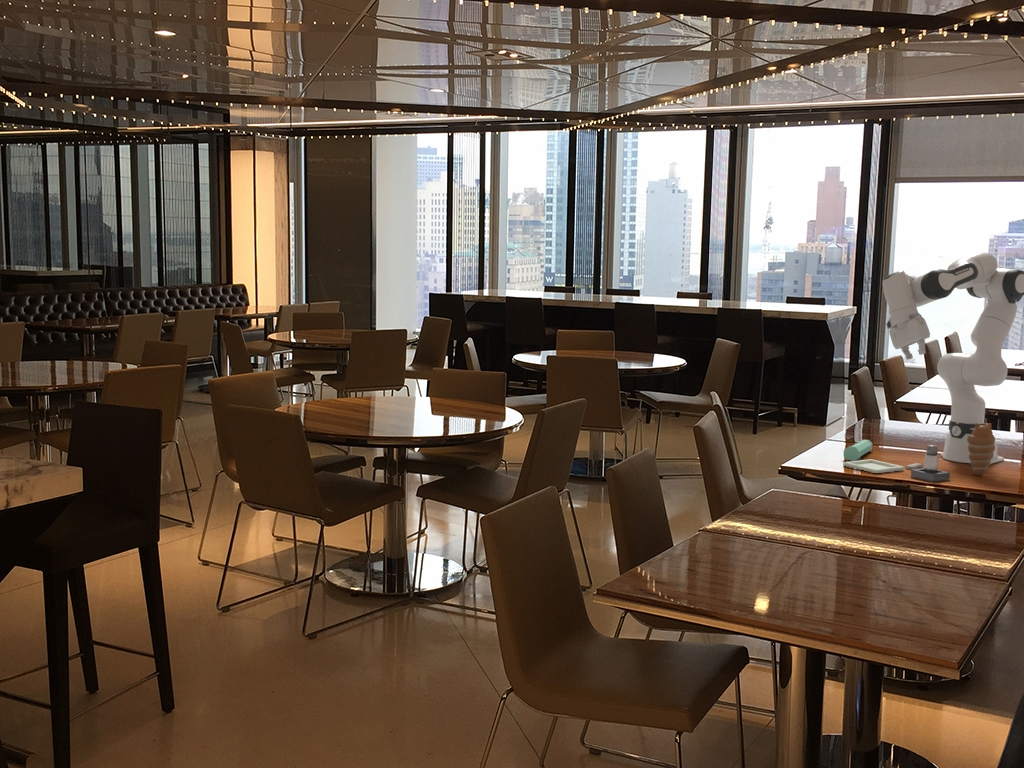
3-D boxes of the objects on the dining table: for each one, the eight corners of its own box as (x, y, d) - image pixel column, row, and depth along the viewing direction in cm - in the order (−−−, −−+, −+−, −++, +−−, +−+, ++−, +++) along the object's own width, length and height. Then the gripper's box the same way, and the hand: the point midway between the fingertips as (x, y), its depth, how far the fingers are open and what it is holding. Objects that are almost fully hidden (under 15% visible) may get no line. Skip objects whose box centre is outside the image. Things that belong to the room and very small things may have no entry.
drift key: (915, 467, 341) (915, 462, 341) (922, 468, 340) (922, 464, 339) (905, 470, 336) (906, 465, 336) (912, 471, 334) (913, 467, 334)
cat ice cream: (987, 473, 331) (991, 421, 328) (997, 478, 323) (1002, 425, 321) (960, 472, 331) (965, 421, 329) (970, 477, 323) (975, 424, 321)
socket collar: (927, 474, 326) (927, 467, 326) (949, 479, 319) (949, 472, 319) (910, 477, 322) (911, 469, 322) (932, 482, 315) (933, 474, 315)
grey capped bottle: (928, 476, 323) (931, 444, 322) (939, 479, 320) (941, 446, 318) (920, 477, 321) (923, 445, 320) (931, 480, 318) (933, 447, 317)
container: (863, 434, 369) (847, 442, 348) (877, 442, 366) (862, 450, 345) (856, 448, 371) (840, 457, 350) (870, 455, 368) (855, 465, 347)
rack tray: (870, 463, 344) (870, 459, 344) (903, 470, 332) (903, 466, 332) (843, 466, 337) (843, 462, 337) (875, 474, 325) (876, 470, 325)
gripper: (928, 309, 320) (939, 349, 318) (900, 322, 340) (911, 359, 339) (910, 312, 320) (921, 353, 318) (883, 325, 340) (894, 363, 338)
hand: (916, 356), depth 328 cm, fingers open, 8 cm apart
